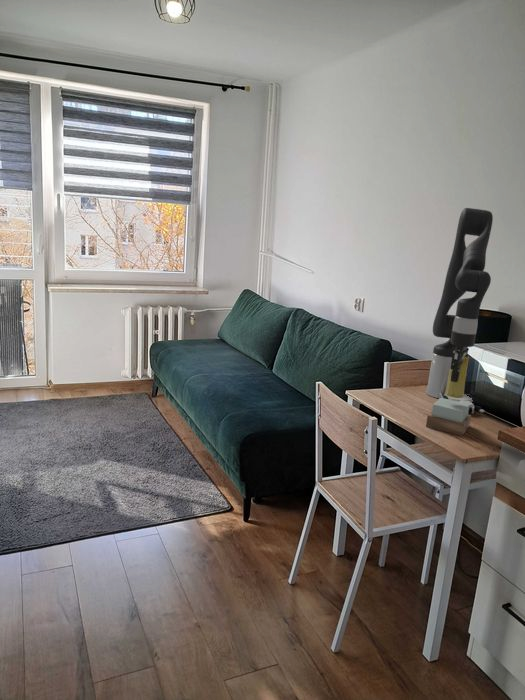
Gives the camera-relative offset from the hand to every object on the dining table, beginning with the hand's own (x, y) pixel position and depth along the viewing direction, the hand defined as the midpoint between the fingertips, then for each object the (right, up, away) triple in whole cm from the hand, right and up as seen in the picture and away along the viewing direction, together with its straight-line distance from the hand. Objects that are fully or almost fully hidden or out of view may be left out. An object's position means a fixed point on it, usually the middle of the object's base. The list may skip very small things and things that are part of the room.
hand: (455, 379), depth 187 cm
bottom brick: (-1, -16, +4) cm, 17 cm away
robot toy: (+10, -13, +24) cm, 29 cm away
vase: (0, -6, +1) cm, 6 cm away
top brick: (-1, -12, +3) cm, 13 cm away
